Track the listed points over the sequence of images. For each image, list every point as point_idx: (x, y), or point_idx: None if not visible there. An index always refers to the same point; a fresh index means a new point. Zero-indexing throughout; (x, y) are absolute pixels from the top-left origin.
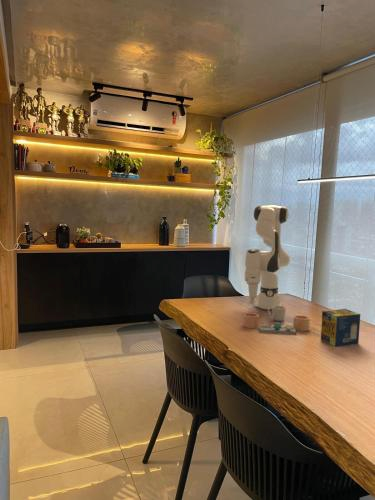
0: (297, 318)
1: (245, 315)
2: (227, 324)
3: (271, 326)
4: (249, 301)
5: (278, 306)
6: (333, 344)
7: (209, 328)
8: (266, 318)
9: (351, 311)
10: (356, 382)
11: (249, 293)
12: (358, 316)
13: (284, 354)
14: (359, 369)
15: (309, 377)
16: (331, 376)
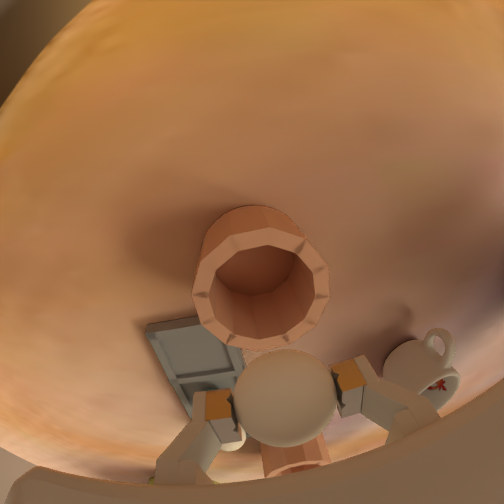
0: (272, 472)
1: (216, 254)
2: (228, 90)
3: (238, 374)
4: (240, 382)
5: (453, 386)
6: (150, 481)
7: (99, 24)
8: (423, 306)
9: None
10: (15, 449)
11: (6, 498)
12: None
13: (10, 387)
14: (60, 470)
15: None
16: (2, 431)
